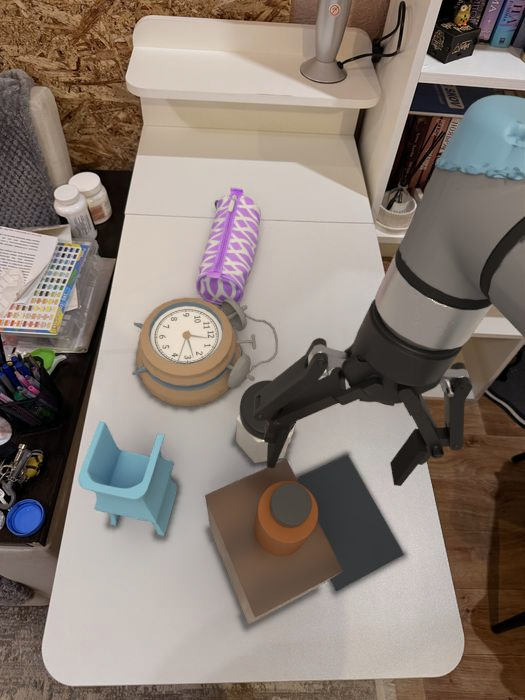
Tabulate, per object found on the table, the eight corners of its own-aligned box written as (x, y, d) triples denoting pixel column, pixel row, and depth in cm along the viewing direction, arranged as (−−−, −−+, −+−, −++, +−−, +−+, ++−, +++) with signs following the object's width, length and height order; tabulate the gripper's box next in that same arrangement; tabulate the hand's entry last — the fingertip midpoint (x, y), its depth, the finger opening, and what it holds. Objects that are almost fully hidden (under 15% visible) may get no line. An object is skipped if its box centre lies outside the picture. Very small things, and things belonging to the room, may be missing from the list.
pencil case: (215, 217, 103) (214, 180, 94) (261, 223, 102) (264, 187, 94) (195, 307, 92) (192, 274, 83) (246, 314, 91) (248, 281, 83)
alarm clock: (130, 289, 81) (273, 282, 84) (139, 320, 89) (269, 314, 92) (126, 385, 73) (286, 375, 75) (136, 410, 81) (280, 401, 83)
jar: (280, 472, 77) (288, 445, 67) (229, 454, 78) (230, 425, 68) (297, 420, 82) (307, 387, 71) (249, 404, 83) (252, 369, 72)
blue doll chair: (179, 481, 76) (165, 433, 59) (164, 536, 72) (144, 502, 55) (128, 470, 76) (98, 420, 59) (110, 524, 72) (73, 487, 55)
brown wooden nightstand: (315, 588, 70) (343, 570, 52) (248, 624, 67) (255, 617, 50) (273, 501, 75) (286, 458, 58) (210, 530, 73) (204, 495, 55)
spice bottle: (316, 541, 54) (334, 519, 44) (268, 565, 52) (276, 548, 43) (292, 492, 56) (304, 461, 46) (245, 514, 55) (249, 487, 45)
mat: (403, 555, 72) (404, 554, 72) (336, 591, 70) (336, 591, 69) (347, 455, 79) (347, 454, 79) (284, 484, 76) (284, 483, 76)
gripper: (550, 314, 43) (437, 451, 58) (260, 258, 40) (219, 419, 55) (588, 381, 38) (453, 514, 52) (256, 323, 34) (212, 481, 49)
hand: (333, 465), depth 54 cm, fingers open, 13 cm apart
